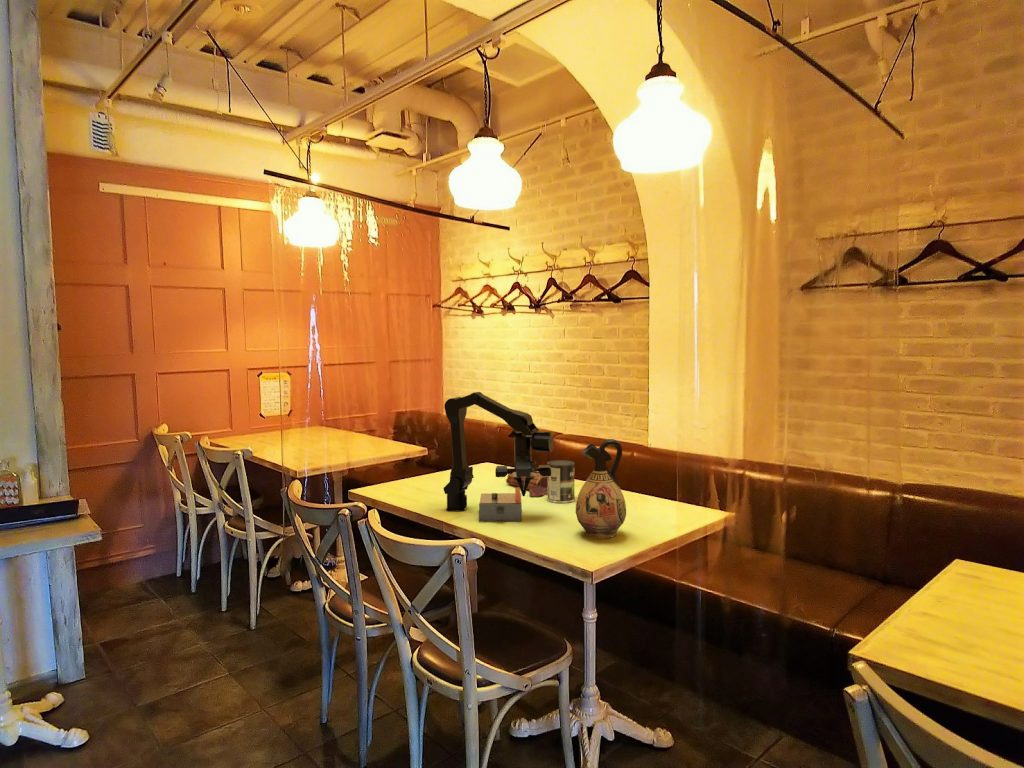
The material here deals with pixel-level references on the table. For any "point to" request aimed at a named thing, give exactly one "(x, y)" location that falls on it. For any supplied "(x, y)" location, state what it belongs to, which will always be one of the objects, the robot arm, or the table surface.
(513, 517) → the grey box
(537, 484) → the cured meat
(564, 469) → the coffee can
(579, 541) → the table surface
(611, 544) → the table surface
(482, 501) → the lid
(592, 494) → the ceramic jug
